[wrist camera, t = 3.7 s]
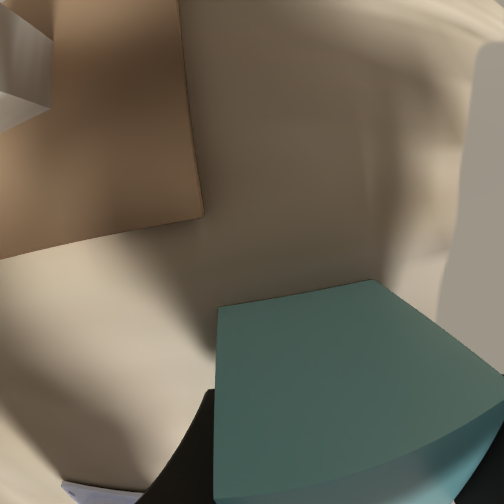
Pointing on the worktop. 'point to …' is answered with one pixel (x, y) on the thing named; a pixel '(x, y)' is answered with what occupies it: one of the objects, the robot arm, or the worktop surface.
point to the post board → (92, 121)
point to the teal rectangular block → (347, 402)
